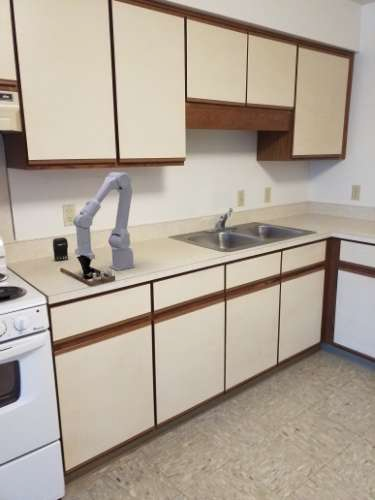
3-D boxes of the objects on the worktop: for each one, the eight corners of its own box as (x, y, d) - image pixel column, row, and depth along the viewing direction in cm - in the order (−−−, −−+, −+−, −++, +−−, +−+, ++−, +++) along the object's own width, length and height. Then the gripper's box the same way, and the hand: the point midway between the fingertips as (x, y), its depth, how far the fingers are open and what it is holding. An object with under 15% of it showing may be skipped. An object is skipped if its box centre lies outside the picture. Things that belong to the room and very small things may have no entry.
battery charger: (55, 262, 195) (53, 239, 192) (53, 260, 198) (51, 238, 196) (69, 260, 199) (68, 237, 196) (67, 258, 202) (65, 236, 199)
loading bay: (83, 266, 187) (83, 256, 186) (115, 280, 167) (115, 269, 165) (60, 271, 180) (59, 260, 179) (90, 286, 159) (90, 274, 158)
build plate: (80, 283, 165) (79, 272, 164) (72, 279, 170) (71, 269, 169) (106, 277, 173) (105, 266, 172) (97, 273, 179) (96, 263, 177)
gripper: (67, 240, 173) (70, 270, 176) (83, 245, 162) (85, 277, 166) (82, 238, 177) (84, 267, 181) (98, 243, 167) (100, 274, 170)
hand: (85, 271), depth 173 cm, fingers closed
